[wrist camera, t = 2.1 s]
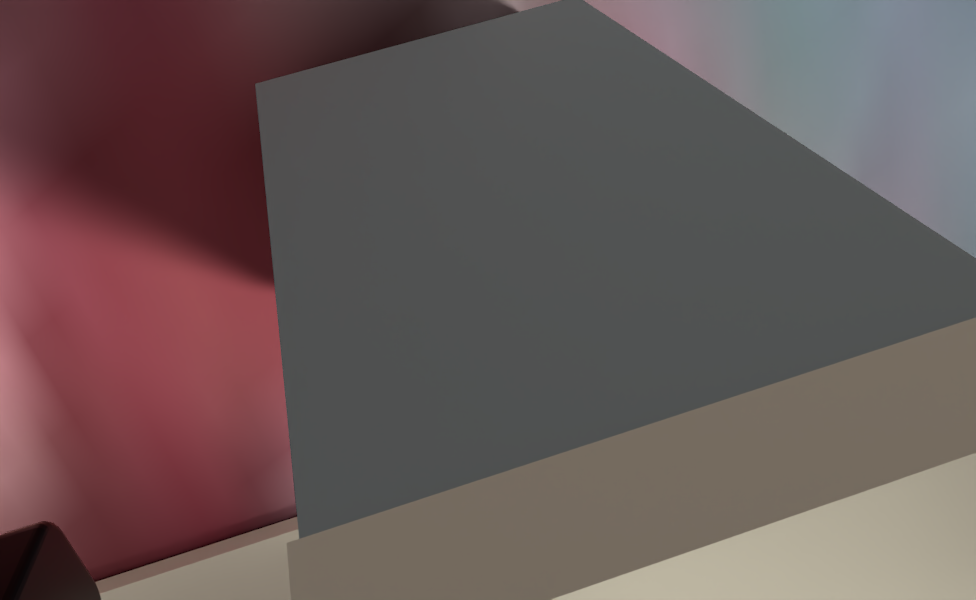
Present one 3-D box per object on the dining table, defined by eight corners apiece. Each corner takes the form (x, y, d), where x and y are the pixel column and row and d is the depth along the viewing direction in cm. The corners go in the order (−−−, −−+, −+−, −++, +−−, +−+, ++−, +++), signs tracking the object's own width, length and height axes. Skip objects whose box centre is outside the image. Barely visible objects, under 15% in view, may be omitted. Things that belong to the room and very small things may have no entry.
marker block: (555, -25, 12) (1189, 378, 4) (595, 243, 14) (1053, 836, 6) (247, 57, 11) (295, 684, 4) (338, 320, 14) (491, 1060, 6)
